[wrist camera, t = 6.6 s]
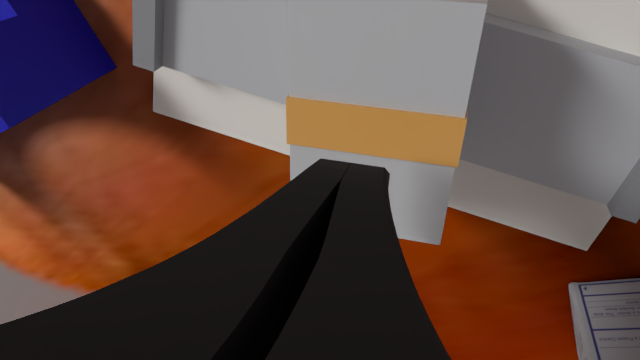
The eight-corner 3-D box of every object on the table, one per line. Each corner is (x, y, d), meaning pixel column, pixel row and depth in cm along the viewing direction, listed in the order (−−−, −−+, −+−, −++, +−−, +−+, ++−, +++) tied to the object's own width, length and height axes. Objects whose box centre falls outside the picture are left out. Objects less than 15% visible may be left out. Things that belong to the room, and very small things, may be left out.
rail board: (767, -22, 14) (818, -3, 12) (583, 241, 19) (597, 283, 17) (168, -182, 15) (124, -189, 13) (160, 105, 21) (128, 130, 19)
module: (482, -37, 14) (490, 5, 9) (447, 153, 17) (441, 247, 13) (336, -46, 14) (284, -11, 10) (330, 137, 18) (288, 221, 13)
